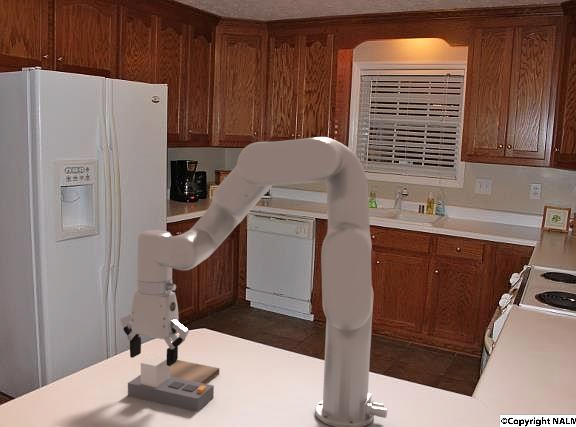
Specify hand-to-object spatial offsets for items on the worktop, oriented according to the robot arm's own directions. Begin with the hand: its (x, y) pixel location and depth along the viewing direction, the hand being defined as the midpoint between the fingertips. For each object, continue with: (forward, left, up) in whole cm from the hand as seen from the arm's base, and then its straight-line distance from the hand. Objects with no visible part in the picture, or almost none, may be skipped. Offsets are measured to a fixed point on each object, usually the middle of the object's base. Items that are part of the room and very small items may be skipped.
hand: (153, 359), depth 130 cm
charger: (-1, 0, -7) cm, 7 cm away
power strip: (-5, 0, -8) cm, 9 cm away
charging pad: (-3, -11, -8) cm, 13 cm away
